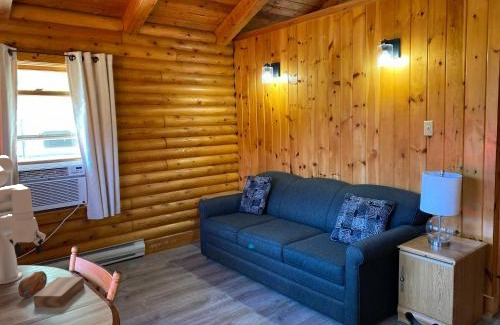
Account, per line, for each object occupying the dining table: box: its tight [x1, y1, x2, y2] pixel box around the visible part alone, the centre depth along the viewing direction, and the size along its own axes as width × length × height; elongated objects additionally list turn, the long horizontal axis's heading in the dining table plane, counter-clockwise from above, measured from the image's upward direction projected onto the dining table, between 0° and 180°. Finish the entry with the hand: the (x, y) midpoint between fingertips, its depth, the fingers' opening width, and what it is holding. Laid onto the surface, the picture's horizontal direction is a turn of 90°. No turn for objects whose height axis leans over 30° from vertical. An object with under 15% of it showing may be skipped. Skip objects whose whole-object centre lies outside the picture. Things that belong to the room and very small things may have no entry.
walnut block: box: [32, 276, 85, 309], centre depth 174 cm, size 12×18×5 cm, turn 174°
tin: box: [17, 270, 48, 299], centre depth 179 cm, size 15×3×8 cm, turn 168°
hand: (28, 253), depth 177 cm, fingers open, 9 cm apart
